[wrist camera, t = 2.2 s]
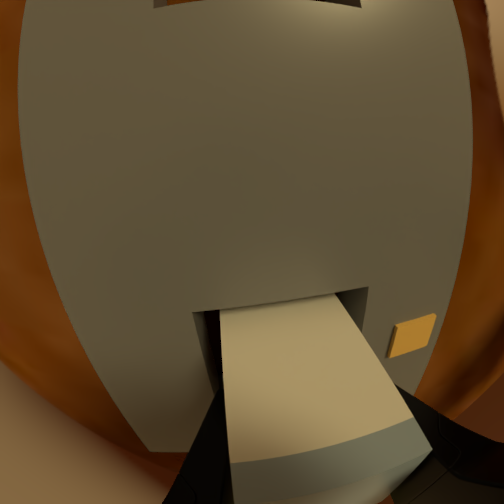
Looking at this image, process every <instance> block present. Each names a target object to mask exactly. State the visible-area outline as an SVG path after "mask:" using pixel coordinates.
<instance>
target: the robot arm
mask: <svg viewBox="0 0 504 504" xmlns="http://www.w3.org/2000/svg"><path fill="white" fill-rule="evenodd" d="M394 385H395V387H396V388H397V390H398V391H399V393H400V395H401V396H402V398H403V400H404V401H405V403H406V405H407V406H408V408H409V410H410V411H411V413H412V415H413V416H414V418H415V420H416V421H417V423H418V425H419V427H420V428H421V430H422V432H423V433H424V435H425V437H426V439H427V440H428V442H429V444H430V446H431V447H432V451H431V452H430V453H429V454H428V455H427V456H426V457H425V459H424V460H423V461H422V462H421V463H420V464H419V465H418V466H417V467H416V468H415V470H414V471H413V472H412V473H411V474H410V475H409V476H408V477H407V478H406V479H405V480H404V481H403V482H402V483H401V484H400V485H399V486H398V487H397V488H396V489H395V490H394V491H392V492H391V493H390V494H391V497H392V499H393V502H394V504H504V443H501V442H496V441H494V440H491V439H488V438H486V437H484V436H482V435H480V434H478V433H475V432H473V431H471V430H469V429H467V428H465V427H463V426H461V425H459V424H457V423H455V422H453V421H452V420H450V419H449V418H447V417H445V416H444V415H442V414H441V413H438V412H437V411H436V410H434V409H433V408H431V407H429V406H428V405H426V404H425V403H423V402H422V401H420V400H419V399H417V398H416V397H414V396H413V395H411V394H410V393H408V392H406V391H405V390H403V389H402V388H400V387H399V386H397V385H396V384H394ZM179 473H180V474H178V475H177V477H176V479H175V481H174V483H173V485H172V487H171V489H170V491H169V493H168V495H167V496H166V498H165V499H164V501H163V502H162V504H234V496H233V487H232V477H231V467H230V457H229V446H228V434H227V422H226V409H225V396H224V389H218V390H217V391H216V393H215V395H214V397H213V400H212V402H211V404H210V406H209V409H208V411H207V413H206V415H205V417H204V420H203V422H202V424H201V426H200V428H199V430H198V433H197V435H196V437H195V439H194V441H193V443H192V445H191V448H190V450H189V452H188V454H187V456H186V458H185V460H184V463H183V465H182V467H181V469H180V471H179Z"/></svg>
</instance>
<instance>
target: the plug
mask: <svg viewBox="0 0 504 504" xmlns="http://www.w3.org/2000/svg"><path fill="white" fill-rule="evenodd" d="M220 327H221V347H222V365H223V381H224V396H225V409H226V422H227V434H228V446H229V457H230V467H231V477H232V487H233V496H234V504H376V503H378V502H381V501H383V500H384V499H385V498H386V497H387V496H388V495H389V494H390V493H391V492H392V491H394V490H395V489H396V488H397V487H398V486H399V485H400V484H401V483H402V482H403V481H404V480H405V479H406V478H407V477H408V476H409V475H410V474H411V473H412V472H413V471H414V470H415V468H416V467H417V466H418V465H419V464H420V463H421V462H422V461H423V460H424V459H425V457H426V456H427V455H428V454H429V453H430V452H431V451H432V447H431V446H430V444H429V442H428V440H427V439H426V437H425V435H424V433H423V432H422V430H421V428H420V427H419V425H418V423H417V421H416V420H415V418H414V416H413V415H412V413H411V411H410V410H409V408H408V406H407V405H406V403H405V401H404V400H403V398H402V396H401V395H400V393H399V391H398V390H397V388H396V387H395V385H394V383H393V382H392V380H391V379H390V377H389V375H388V374H387V372H386V371H385V369H384V367H383V366H382V364H381V363H380V361H379V360H378V358H377V356H376V355H375V353H374V352H373V350H372V349H371V347H370V346H369V344H368V343H367V341H366V339H365V338H364V336H363V335H362V333H361V332H360V330H359V329H358V327H357V326H356V324H355V323H354V321H353V320H352V318H351V317H350V315H349V314H348V312H347V311H346V309H345V308H344V306H343V305H342V304H341V302H340V301H339V299H338V298H337V296H336V295H335V293H329V294H323V295H317V296H311V297H305V298H298V299H292V300H285V301H278V302H271V303H264V304H257V305H250V306H242V307H234V308H226V309H220Z"/></svg>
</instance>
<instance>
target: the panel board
mask: <svg viewBox="0 0 504 504" xmlns="http://www.w3.org/2000/svg"><path fill="white" fill-rule="evenodd" d="M18 112H19V128H20V139H21V148H22V156H23V163H24V169H25V175H26V181H27V186H28V192H29V196H30V201H31V206H32V210H33V214H34V218H35V222H36V226H37V230H38V233H39V237H40V240H41V244H42V247H43V250H44V253H45V257H46V260H47V263H48V266H49V269H50V271H51V274H52V277H53V280H54V282H55V285H56V288H57V290H58V293H59V295H60V298H61V300H62V303H63V305H64V308H65V310H66V312H67V315H68V317H69V319H70V321H71V324H72V326H73V328H74V330H75V332H76V334H77V336H78V338H79V340H80V342H81V344H82V346H83V348H84V350H85V352H86V354H87V356H88V358H89V360H90V362H91V364H92V365H93V367H94V369H95V371H96V373H97V374H98V376H99V378H100V379H101V381H102V383H103V385H104V386H105V388H106V390H107V391H108V393H109V394H110V396H111V398H112V399H113V401H114V402H115V404H116V405H117V407H118V408H119V410H120V411H121V413H122V414H123V416H124V417H125V419H126V420H127V422H128V423H129V425H130V426H131V427H132V429H133V430H134V431H135V433H136V434H137V436H138V437H139V438H140V440H141V441H142V442H143V443H144V445H145V446H146V447H147V449H148V450H149V451H150V452H189V450H190V448H191V445H192V443H193V441H194V439H195V437H196V435H197V433H198V430H199V428H200V426H201V424H202V422H203V420H204V417H205V415H206V413H207V411H208V409H209V406H210V404H211V402H212V400H213V397H214V395H215V393H216V391H217V390H218V389H224V381H223V375H218V372H217V368H216V364H215V360H214V355H213V351H212V347H211V342H210V338H209V333H208V329H207V324H206V319H205V315H204V311H209V310H218V309H226V308H234V307H242V306H250V305H257V304H264V303H271V302H278V301H285V300H292V299H298V298H305V297H311V296H317V295H323V294H329V293H335V292H338V294H337V298H338V299H339V301H340V302H341V304H342V305H343V306H344V308H345V309H346V311H347V312H348V314H349V315H350V317H351V318H352V320H353V321H354V323H355V324H356V326H357V327H358V329H359V330H360V332H361V333H362V335H363V336H364V338H365V339H366V341H367V343H368V344H369V346H370V347H371V349H372V350H373V352H374V353H375V355H376V356H377V358H378V360H379V361H380V363H381V364H382V366H383V367H384V369H385V371H386V372H387V374H388V375H389V377H390V379H391V380H392V382H393V383H394V384H396V385H397V386H399V387H400V388H402V389H403V390H405V391H406V392H408V393H410V394H411V395H414V393H415V391H416V389H417V387H418V385H419V382H420V380H421V378H422V376H423V373H424V371H425V369H426V366H427V364H428V361H429V359H430V356H431V354H432V351H433V349H434V346H435V343H436V341H437V338H438V335H439V332H440V329H441V327H442V324H443V321H444V317H445V314H446V311H447V308H448V304H449V301H450V297H451V294H452V290H453V286H454V283H455V279H456V274H457V270H458V266H459V261H460V257H461V252H462V247H463V241H464V235H465V229H466V223H467V216H468V208H469V199H470V189H471V176H472V152H473V129H472V106H471V93H470V83H469V75H468V68H467V61H466V55H465V50H464V44H463V39H462V35H461V30H460V26H459V22H458V18H457V14H456V10H455V7H454V4H453V0H325V2H321V1H312V0H205V1H196V2H188V3H182V4H175V5H170V6H167V0H26V5H25V10H24V16H23V23H22V30H21V39H20V49H19V64H18Z"/></svg>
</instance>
